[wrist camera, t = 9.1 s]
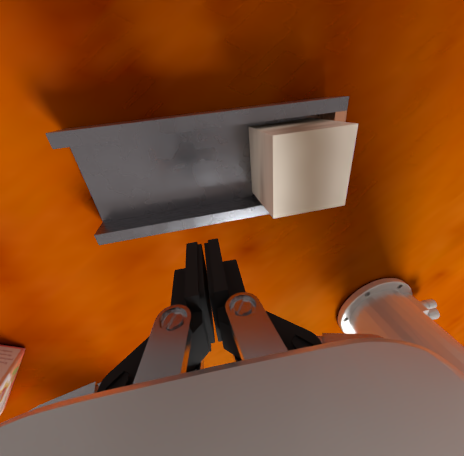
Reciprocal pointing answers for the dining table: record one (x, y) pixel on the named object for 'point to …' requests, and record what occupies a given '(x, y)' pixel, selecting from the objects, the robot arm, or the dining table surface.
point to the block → (301, 164)
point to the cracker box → (8, 370)
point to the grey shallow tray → (178, 166)
